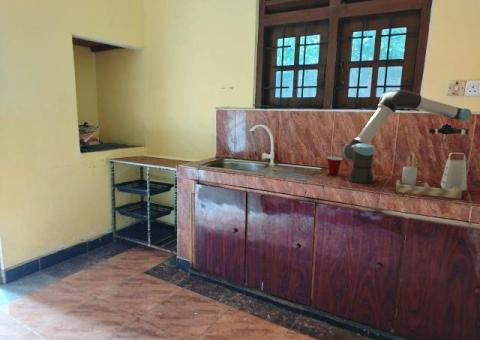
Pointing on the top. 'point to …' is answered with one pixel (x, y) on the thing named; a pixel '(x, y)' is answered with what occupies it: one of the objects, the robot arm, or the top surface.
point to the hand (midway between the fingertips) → (450, 131)
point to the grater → (454, 173)
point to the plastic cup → (334, 164)
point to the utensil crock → (409, 173)
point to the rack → (429, 190)
